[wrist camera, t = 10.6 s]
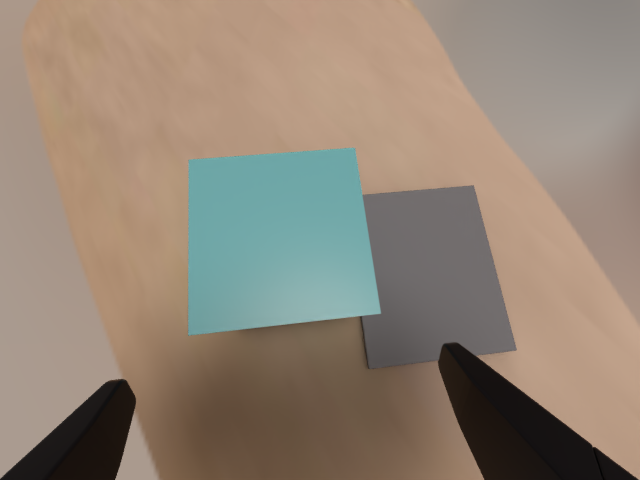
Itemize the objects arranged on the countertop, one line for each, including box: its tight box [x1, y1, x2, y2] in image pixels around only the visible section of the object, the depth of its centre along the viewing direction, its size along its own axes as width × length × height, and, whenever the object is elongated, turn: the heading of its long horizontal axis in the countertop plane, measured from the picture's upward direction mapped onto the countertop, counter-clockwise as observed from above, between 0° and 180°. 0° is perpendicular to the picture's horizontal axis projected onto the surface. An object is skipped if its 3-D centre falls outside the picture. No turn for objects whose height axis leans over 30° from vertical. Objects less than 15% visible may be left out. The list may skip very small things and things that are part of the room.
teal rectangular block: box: [188, 148, 381, 336], centre depth 17 cm, size 7×7×9 cm
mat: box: [361, 186, 517, 369], centre depth 21 cm, size 12×10×1 cm
